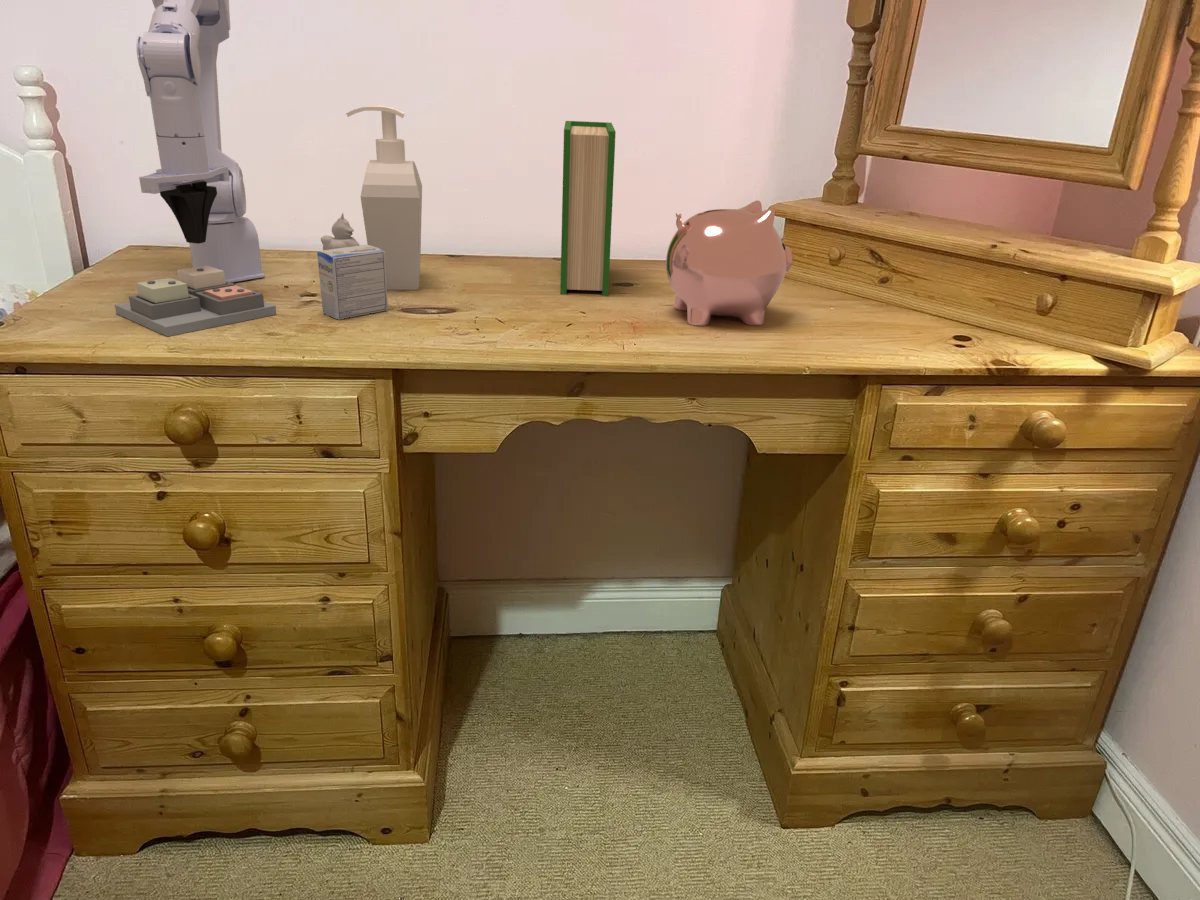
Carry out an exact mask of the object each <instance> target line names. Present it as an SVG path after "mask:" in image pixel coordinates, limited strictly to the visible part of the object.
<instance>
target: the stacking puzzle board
mask: <svg viewBox="0 0 1200 900" xmlns="http://www.w3.org/2000/svg"><path fill="white" fill-rule="evenodd" d="M225 283H226V284H223V285H217V286H211V287H205V288H199V289H193V288H190V287H188V286H187V288H188V294H189V298H183V299H177V300H172V301H166V302H160V303H153V302H151V301H148V300H146V299H143V298H141V297H139V294H136V295H135V294H134V295H130V296H128V300H129V301H128V302H122V303H121V302H120V303H116V304H114V309H115V314H116V315H118V316H121V317H123V318H126V319H127V320H129V321H131V322H134V323H136V324H138V325H140V326H143V327H145V328H146V329H147V328H148V329H150V330H152V331H154V332H156V333H158V334H159V335H160V334H161V335H163V336H165V337H172V336H177V335H181V334H187V333H191V332H195V331H201V330H206V329H207V330H208V329H211V328H216V327H222V326H225V325H230V324H231V325H232V324H236V323H240V322H241V323H242V322H245V321H251V320H255V319H260V318H265V317H271V316H276V315H277V306H276V305H274V304H272V303H269V302H265V301H264V300H265V298H264V293H261V292H259V291H256V290H252V289H250V288H247V287H244V286H242V285H238V284H237V285H236V283H234V282H231V283H230V282H228V281H225ZM235 285H236V286H239V287H241V288H244V289H247V290H250V291H253V294H252V295H247V296H241V297H236V298H230V299H225V300H219V299H216V298H214V297H211V296H208V295H206V294H205V292H204V291H205V290H211V289H217V288H223V287H229V286H235Z"/></svg>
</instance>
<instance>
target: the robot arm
mask: <svg viewBox="0 0 1200 900" xmlns="http://www.w3.org/2000/svg"><path fill="white" fill-rule="evenodd" d="M152 5H153V7H154V9H155V10H154V11H153V13H152V16H151V20H150V22H149V23H150V24H149V27H148V31H145V32H143V35H142V36H137V37H136V56H137V62H138V66H139V70H140V73H141V75H142V80H143V82H144V89H145V92H146V96H147V97H149V99H150V104H151V105H150V106H151V110H152V118H153V124H154V125H153V126H154V131H155V137H156V144H157V151H158V156H159V162H160V168H159V169H155V172H152V173H151V174H147V175H143V176H139V178H138V179H139V184H140V190H141V193H142V194H151V195H157V194H160V197H161V198H162V199H163V201H165V203H166V204H167V205H168V207H169V209H170V210H171V212H172V213H173V215H174V217H175V219H176V220H177V223H178V225H179V227H180V229H181V231H182V234H183V237H184V239H185V241H186V243H188V244H189V245H188V246H189V250H190V257H191V258H190V259H191V263H192V268H194V267H201V266H210V267H213V268H216V269H219V270H222V271H224V275H225V281H228V282H230V283H236V282H242V281H248V280H254V279H262V278H265V277H266V274H265V273H264V272H263V266H262V259H261V249H260V248H261V247H260V241H259V235H258V231H257V229H256V226H255V225H254V223H253V222H252V220H251V219H249V218H248V217H245V216H244V215H245V214H246V213H247V199H246V195H247V194H246V188H245V184H244V178H243V177H244V175H243V171H242V168H241V167H240V165H239V163H238V162H236V160H234V159H233V158H231V157H230V156H228V155H227V154H225V153H224V152H222V151H223V150H222V138H221V137H222V136H221V121H220V119H221V118H220V105H219V104H220V103H219V101H220V99H219V87H218V70H217V59H218V52H219V45H220V44H221V43H223V42H224V41H226V40H227V39H229V38H230V30H231V17H230V16H231V14H230V13H231V12H230V0H152Z"/></svg>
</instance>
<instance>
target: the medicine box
mask: <svg viewBox="0 0 1200 900" xmlns="http://www.w3.org/2000/svg"><path fill="white" fill-rule="evenodd" d="M316 254H317V255H316V256H317V266H318V267H317V268H318V276H319V285H320V286H319V287H320V296H321V306H322V307H321V309H322V312H323V314H324V315H326V316H328V317H330V316H331V318H333V319H335V320H337V319H338V321H340V320H344V318H345V319H349V317H350V318H353V317H358V316H365V315H369V314H370V313H371V314H375V313H380V312H385V311H388V310H389V305H388V290H387V283H386V264H385V251H383V250H381V249H379V248H376V247H374V246H370V245H367V244H364V245H363V244H362V245H360V246H353V247H345V248H337V249H330V250H323V249H322V250H319V251H317V253H316Z"/></svg>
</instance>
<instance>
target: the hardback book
mask: <svg viewBox="0 0 1200 900" xmlns="http://www.w3.org/2000/svg"><path fill="white" fill-rule="evenodd" d="M616 132H617V131H616V129H615V126H614V125H613V124H612V122H603V121H601V122H599V121H583V120H582V121H581V120H579V121H578V120H565V122H564V127H563V151H562V152H563V159H562V201H561V202H562V203H561V240H560V241H561V243H560V244H561V245H560V246H561V247H560V248H561V249H560V253H561V255H560V286H559V287H560V290H559V291H560V292H559V294H560V295H561V296H562V295H564V296H566V295H567V292H568V291H567V290H571V291H573V290H575V291H576V290H577V291H601V296H602V297H609V291H610V290H609V288H610V287H609V285H610V263H611V242H612V241H611V240H612V220H613V219H612V218H613V197H614V180H615V179H614V176H615V174H614V171H615V156H616V154H615V153H616V152H615V151H616V134H617V133H616Z"/></svg>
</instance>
